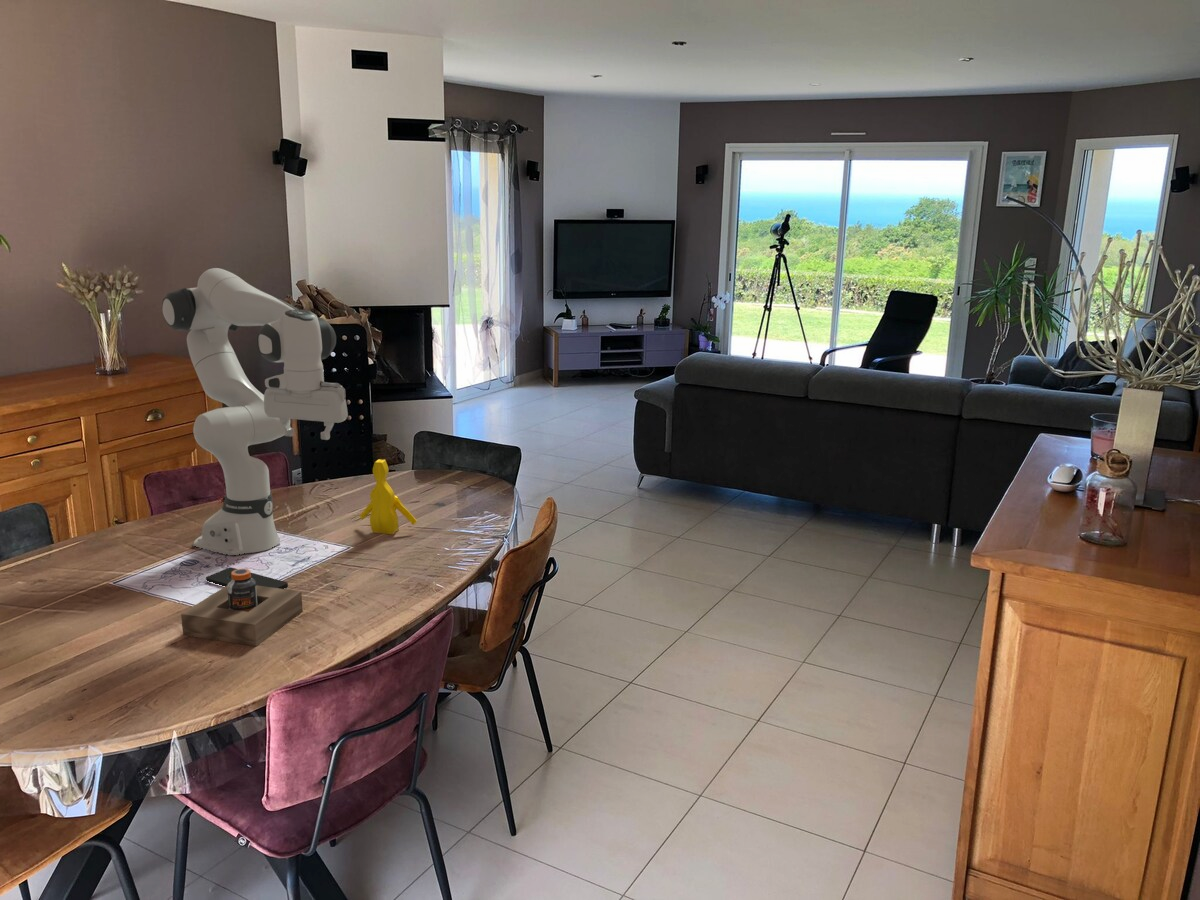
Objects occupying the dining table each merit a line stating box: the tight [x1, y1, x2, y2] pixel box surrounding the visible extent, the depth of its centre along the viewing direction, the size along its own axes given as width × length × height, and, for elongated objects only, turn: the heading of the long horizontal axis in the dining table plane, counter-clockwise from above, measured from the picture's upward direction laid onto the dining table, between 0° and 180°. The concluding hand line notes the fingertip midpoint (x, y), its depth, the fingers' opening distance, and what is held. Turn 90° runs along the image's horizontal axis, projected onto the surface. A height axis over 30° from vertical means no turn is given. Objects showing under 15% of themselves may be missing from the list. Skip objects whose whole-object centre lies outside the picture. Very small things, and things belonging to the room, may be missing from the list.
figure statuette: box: [359, 459, 418, 535], centre depth 261 cm, size 18×8×22 cm, turn 78°
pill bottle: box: [227, 568, 257, 612], centre depth 204 cm, size 6×6×11 cm
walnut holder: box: [180, 585, 303, 647], centre depth 205 cm, size 18×18×5 cm
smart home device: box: [205, 567, 289, 589], centre depth 226 cm, size 8×2×20 cm
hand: (307, 437), depth 219 cm, fingers open, 8 cm apart
